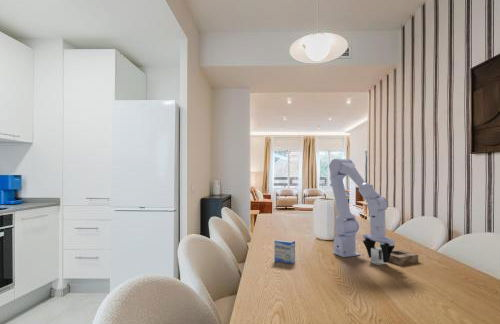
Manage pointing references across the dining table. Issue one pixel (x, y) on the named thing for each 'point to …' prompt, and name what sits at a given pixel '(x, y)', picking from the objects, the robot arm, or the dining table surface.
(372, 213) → the robot arm
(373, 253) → the square bit
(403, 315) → the dining table surface
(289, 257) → the medicine box
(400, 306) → the dining table surface
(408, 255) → the walnut bore block
